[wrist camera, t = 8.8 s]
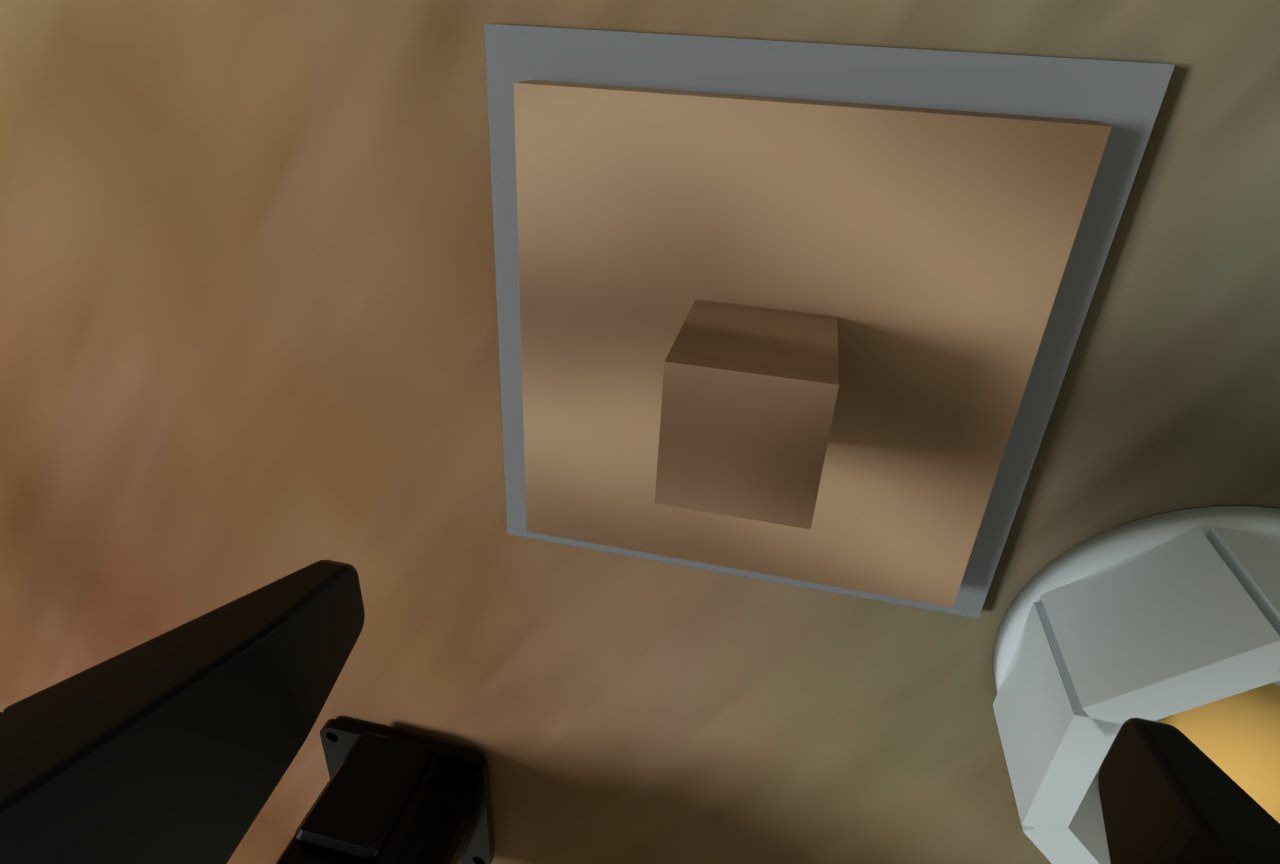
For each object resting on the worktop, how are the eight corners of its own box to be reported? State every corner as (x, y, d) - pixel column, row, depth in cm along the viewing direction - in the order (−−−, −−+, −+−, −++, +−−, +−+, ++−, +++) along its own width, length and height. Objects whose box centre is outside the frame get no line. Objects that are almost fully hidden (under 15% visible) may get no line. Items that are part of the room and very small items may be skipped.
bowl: (1316, 823, 21) (1428, 1006, 17) (953, 748, 22) (979, 899, 18) (1533, 545, 16) (1757, 709, 12) (1055, 475, 18) (1119, 600, 14)
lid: (947, 581, 19) (977, 721, 15) (538, 510, 21) (473, 619, 17) (1094, 120, 14) (1196, 155, 10) (531, 79, 16) (433, 96, 12)
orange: (1256, 751, 19) (1329, 874, 16) (1118, 723, 19) (1167, 838, 17) (1319, 658, 17) (1411, 777, 15) (1167, 631, 18) (1228, 741, 15)
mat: (975, 608, 20) (978, 618, 19) (512, 526, 22) (507, 534, 22) (1166, 63, 14) (1174, 64, 13) (492, 23, 16) (484, 23, 15)
